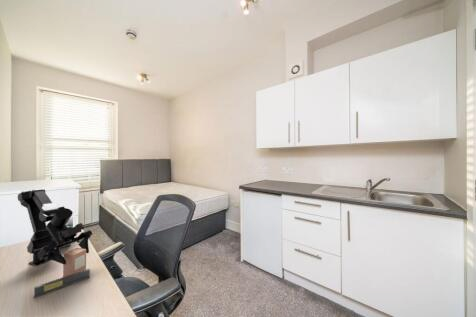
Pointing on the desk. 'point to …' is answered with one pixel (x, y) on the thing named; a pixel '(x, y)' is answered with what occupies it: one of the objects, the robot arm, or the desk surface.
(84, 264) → the carton
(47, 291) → the rail
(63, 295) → the desk surface
